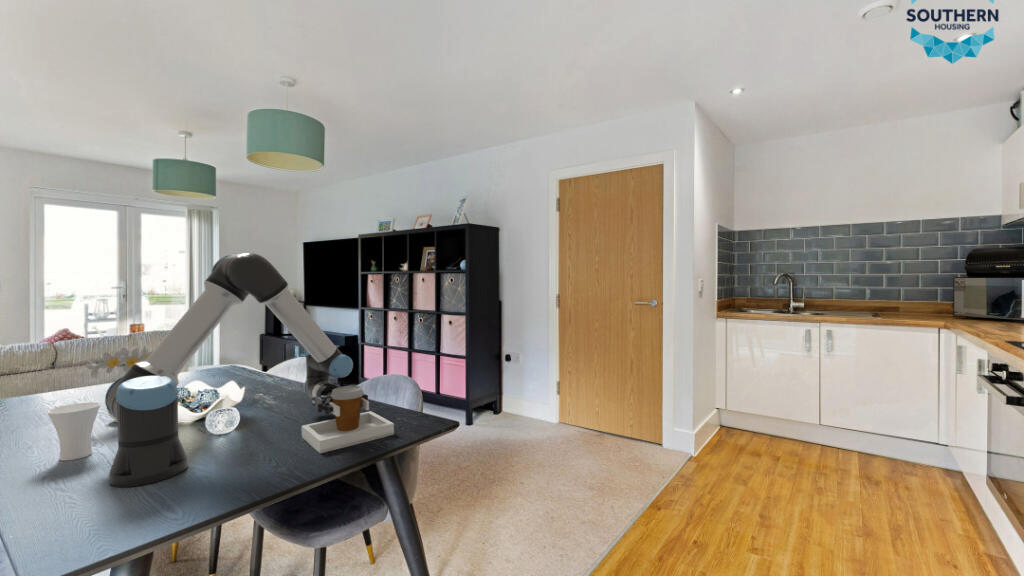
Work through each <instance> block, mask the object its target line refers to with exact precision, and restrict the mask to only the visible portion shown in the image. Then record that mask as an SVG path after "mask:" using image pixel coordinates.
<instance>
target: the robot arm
mask: <svg viewBox="0 0 1024 576" xmlns="http://www.w3.org/2000/svg"><path fill="white" fill-rule="evenodd" d="M203 285H204V290H203V291H202V292H201V294H200V295H199V296H198V297H197V298H196V300H195V301H194V302H193V303H192V305H191V306H190V307H189V308H188V309H187V311H186V312H185V313H184V314H183V315H182V316H181V318H179V319H178V321H177V322H176V323H175V325H174V326H173V327H172V328H171V330H170V331H169V332H168V333H167V334H166V336H165V337H164V338H163V339H162V340H161V341H160V342H159V343H158V345H157V346H156V347H155V349H154V350H153V351H152V352H150V353H151V355H150V356H149V357H148V358H147V359H146V360H145V361H142V362H138V363H135V364H134V365H133V366H132V367H131V368H130V370H129V371H128V372H127V373H126V374H125V375H124V376H123V377H121V378H120V377H119V378H117V379H116V380H115V381H114V382H113V383H111V384H110V386H109V387H108V389H107V391H106V393H105V399H104V402H105V407H106V410H107V412H108V411H109V413H110V414H111V415H113V416H114V417H115V418H116V419H117V421H118V422H117V443H118V444H117V445H118V448H117V451H116V453H115V454H116V455H115V456H114V460H113V462H112V464H111V468H110V470H109V473H108V474H109V475H108V476H109V477H108V479H109V480H108V481H109V484H110V485H111V486H112V487H113V486H114V487H118V488H131V487H140V486H144V485H150V484H154V483H156V482H161V481H164V480H168V479H169V478H172V477H174V476H176V475H179V474H180V473H182V472H183V471H184V470H186V469H187V468H188V464H189V463H188V461H189V460H188V455H187V453H186V451H185V449H184V447H183V443H182V442H181V440H180V437H179V409H178V406H179V404H178V403H179V402H178V396H179V390H178V385H179V383H180V381H179V378H178V377H179V376H178V375H179V374H180V373H181V372H182V370H183V369H184V368H185V366H187V364H188V363H189V362H190V360H191V359H192V358H193V357H194V355H195V354H196V353H197V351H198V350H199V349H200V348H201V346H202V345H203V344H204V343H205V342H206V340H207V339H209V336H210V335H211V334H212V333H213V332H214V331H215V329H216V328H217V326H218V325H219V324H220V322H221V321H222V320H223V319H224V317H225V316H227V314H228V312H229V311H230V310H231V309H232V308H233V306H235V305H241V304H243V302H244V301H245V300H246V298H248V297H249V295H251V297H253V298H254V299H255V300H256V301H257V303H259V304H260V305H262V304H264V305H265V306H266V307H267V308H268V309H269V310H270V311H271V313H272V314H273V315H275V317H276V318H277V319H278V320H279V321H280V322H281V323H282V325H284V327H285V328H286V329H287V330H288V331H289V332H290V333H291V335H292V336H293V337H294V338H295V339H296V340H297V342H298V343H300V345H301V346H302V347H303V348H304V349H305V350H306V351H305V363H306V364H305V368H306V380H305V381H304V383H303V392H304V394H305V395H306V396H307V397H308V398H309V399H311V401H312V403H311V404H312V406H313V407H315V409H316V411H317V412H318V413H322V412H323V411H324V414H325V415H328V414H330V413H331V414H333V415H334V416H335V415H336V416H337V417H338V416H340V407H339V406H337V405H336V404H334V403H333V399H332V397H331V394H332V390H333V389H335V388H338V387H340V386H339V385H337V384H336V383H334V382H331V381H330V380H331V379H330V377H332V378H338V379H339V378H340V379H341V378H346V377H348V376H349V375H350V373H351V372H352V370H353V368H354V362H353V359H352V358H351V357H350V356H348V355H346V354H343V353H342V352H341V351H340V350H339V348H338V347H337V346H336V345H335V344H334V343H333V342H332V340H331V339H330V338H329V337H328V335H327V334H326V333H325V332H324V331H323V330H322V328H321V327H320V326H319V324H317V322H316V321H315V320H314V318H313V317H312V316H311V315H310V314H309V312H308V311H307V310H306V308H304V306H303V305H302V304H301V303H300V302H299V300H298V299H297V298H296V297H295V296H294V295H293V293H292V292H291V290H289V283H288V282H287V280H286V279H285V278H284V277H283V275H281V274H280V271H278V270H277V268H276V267H275V266H274V265H273V264H272V263H271V262H270V261H269V260H268V259H267V258H266V257H264V256H262V255H260V254H257V253H254V252H245V253H232V254H227V255H225V256H223V257H221V258H220V259H218V260H217V261H216V262H215V263H214V264H213V267H212V269H211V273H210V274H209V276H207V278H206V279H205V280H204V281H203ZM361 409H363V410H365V411H369V410H370V401H369V395H368V394H366V393H363V395H362V401H361Z"/></svg>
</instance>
